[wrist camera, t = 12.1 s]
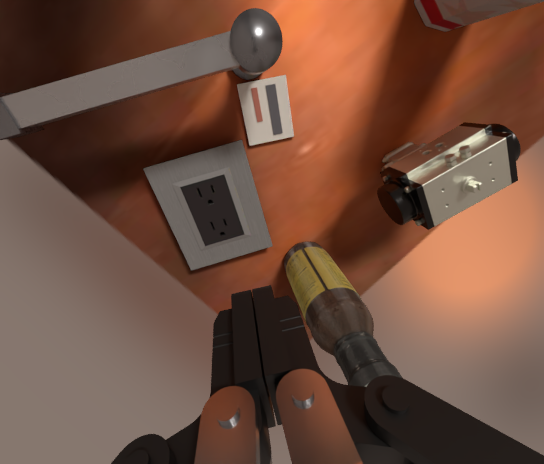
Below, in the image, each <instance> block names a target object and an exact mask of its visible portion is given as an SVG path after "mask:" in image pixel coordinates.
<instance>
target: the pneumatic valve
mask: <svg viewBox="0 0 544 464" xmlns="http://www.w3.org/2000/svg"><path fill="white" fill-rule="evenodd" d="M519 156H520V144H519V141H518V139H517V137H516V136H515V134H514V133H513V132H512V131H511V130H510V129H508V128H507V127H505V126H503V125H500V124H489V125H486V124H476V123H465V122H464V123H463V124H461V125H459V126H457V127H456V128H454V129H452V130H451V131H449V132H447V133H445V134H444V135H442V136H440V137H439V138H437V139H435V140H433V141H432V142H430V143H428V144H425V143H423V144H421V145H419V146H418V145H415V144H413V142H407V143H405V144H403V145H402V146H400V147H398V148H397V149H395V150H393V151H392V152H390V153H388V154H386V155H385V156H384V158H383V159H382V162H383V163H386V162H387V165H385V166H384V167H382V171H381V172H380V174H381V177H382V179H383V182H384V185H383V186H381V187H379V188H378V190H377V194H378V198H379V201H380V203H381V205H382V207H383V208H384V210H385V211H386V213H387V214H388V216H389V217H390V218H391V219H392V220H393V221H394V222H395V223H397V224H399V225H403V224H405V223H407V222H409V221H410V220H414V221H415V223H416V225H417V226H419V225H422V226H423V227H425V228H426V229H428V230H429V229H431V228H432V227H434V226H436V225H438V224H440V223H442V222H443V221H445V220H447V219H449V218H451V217H452V216H454V215H456V214H458V213H460V212H461V211H463V210H465V209H467V208H469V207H470V206H472V205H474V204H476V203H478V202H480V201H481V200H483V199H485V198H486V197H489V196H490V195H492V194H494V193H496V192H498V191H500V190H501V189H503V188H505V187H507V186H509V185H510V184H512V183H514V182H516V181H518V177H517V168H516V160H517V159H518V158H519Z"/></svg>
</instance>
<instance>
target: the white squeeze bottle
mask: <svg viewBox="0 0 544 464" xmlns="http://www.w3.org/2000/svg"><path fill="white" fill-rule="evenodd" d="M543 1H544V0H414V4H415V6H416V8H417V10H418V12H419V14H420V16H421V18H422V20H423V22H424V24H425V26H427V27H431V28H434V29H438V30H441V31H445V32H446V31H450V30H453V29H456V28H459V27H463V26H466V25H469V24H472V23H475V22H479V21H482V20H485V19H488V18H492V17H495V16H498V15H501V14H505V13H508V12H511V11H514V10H517V9H521V8H524V7H527V6H530V5H534V4H537V3H540V2H543Z"/></svg>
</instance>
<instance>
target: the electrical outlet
mask: <svg viewBox="0 0 544 464" xmlns="http://www.w3.org/2000/svg"><path fill="white" fill-rule="evenodd" d="M143 170H144V172H145V174H146V176H147V178H148V180H149V182H150V185H151V187H152V189H153V191H154V193H155V195H156V197H157V199H158V201H159V204H160V206H161V208H162V210H163V212H164V214H165V216H166V218H167V220H168V223H169V225H170V227H171V229H172V231H173V233H174V235H175V237H176V239H177V242H178V244H179V246H180V248H181V250H182V252H183V254H184V256H185V258H186V261H187V263H188V265H189V267H190V269H191V271H192V270H195V269H198V268H202V267H205V266H208V265H212V264H215V263H218V262H222V261H225V260H228V259H232V258H235V257H238V256H242V255H245V254H248V253H252V252H255V251H258V250H262V249H265V248H268V247H272V242H271V239H270V235H269V232H268V228H267V225H266V222H265V218H264V215H263V211H262V208H261V204H260V201H259V197H258V194H257V191H256V187H255V184H254V180H253V177H252V173H251V170H250V166H249V163H248V160H247V156H246V153H245V149H244V146H243V142H242V140H239V141H236V142H232V143H229V144H225V145H222V146H218V147H215V148H211V149H208V150H205V151H201V152H198V153H194V154H191V155H187V156H184V157H180V158H177V159H173V160H170V161H167V162H163V163H160V164H156V165H153V166H149V167H146V168H143Z"/></svg>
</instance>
